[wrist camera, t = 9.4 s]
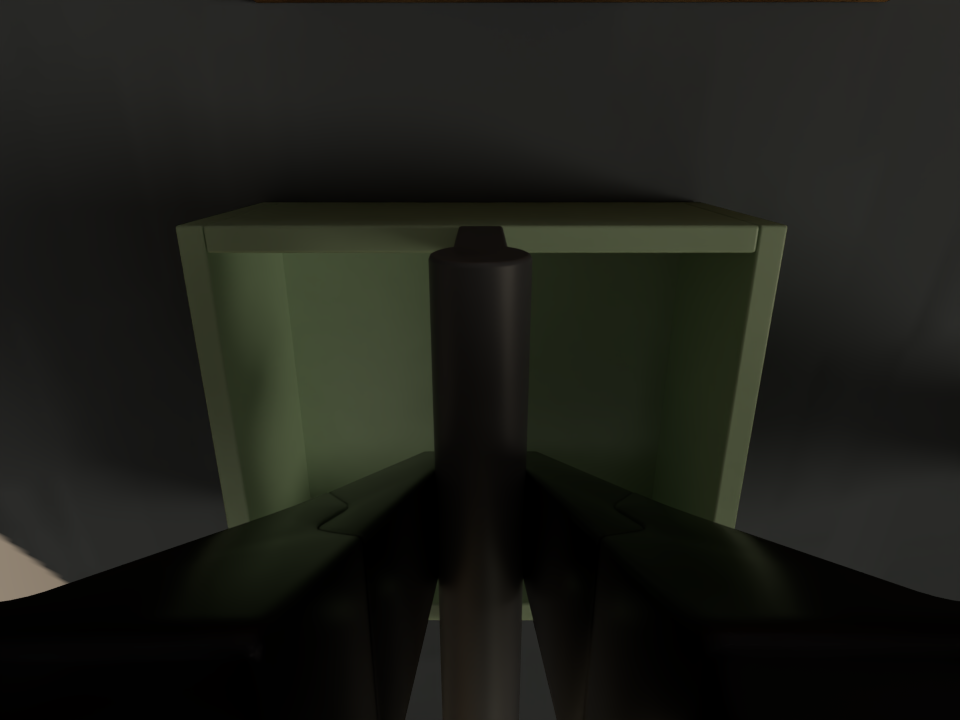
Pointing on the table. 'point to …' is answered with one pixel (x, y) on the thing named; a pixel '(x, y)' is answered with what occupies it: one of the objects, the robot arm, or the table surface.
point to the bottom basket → (329, 0)
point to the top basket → (481, 372)
